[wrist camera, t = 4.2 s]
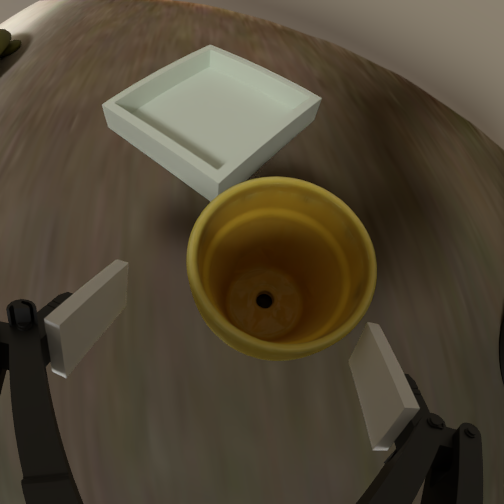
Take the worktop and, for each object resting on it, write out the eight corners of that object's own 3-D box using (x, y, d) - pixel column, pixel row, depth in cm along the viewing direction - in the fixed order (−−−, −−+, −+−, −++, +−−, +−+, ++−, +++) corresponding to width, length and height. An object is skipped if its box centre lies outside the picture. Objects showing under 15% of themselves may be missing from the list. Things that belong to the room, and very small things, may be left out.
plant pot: (216, 232, 27) (219, 155, 18) (332, 262, 27) (382, 201, 18) (180, 349, 23) (158, 322, 14) (311, 381, 23) (368, 372, 14)
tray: (314, 120, 35) (321, 98, 32) (217, 206, 28) (218, 183, 25) (209, 65, 38) (210, 44, 35) (108, 127, 31) (101, 104, 28)
